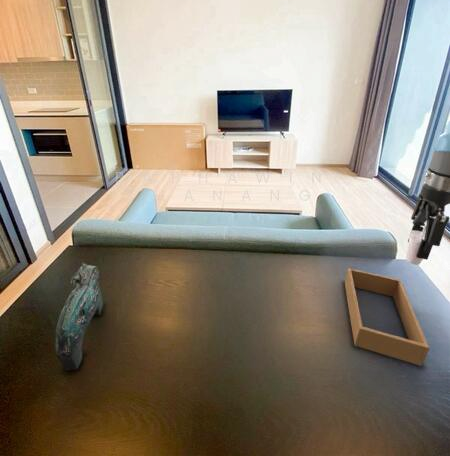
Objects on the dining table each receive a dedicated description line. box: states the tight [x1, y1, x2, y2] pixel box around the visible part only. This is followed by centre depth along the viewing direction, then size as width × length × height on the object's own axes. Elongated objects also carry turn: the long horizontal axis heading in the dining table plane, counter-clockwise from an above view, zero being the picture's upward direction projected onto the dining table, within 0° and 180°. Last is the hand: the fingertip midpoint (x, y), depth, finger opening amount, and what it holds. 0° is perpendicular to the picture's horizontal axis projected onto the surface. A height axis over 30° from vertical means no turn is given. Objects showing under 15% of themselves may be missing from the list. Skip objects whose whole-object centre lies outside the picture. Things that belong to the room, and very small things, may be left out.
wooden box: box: [344, 267, 430, 367], centre depth 73 cm, size 16×22×7 cm
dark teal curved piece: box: [54, 262, 104, 371], centre depth 67 cm, size 20×6×20 cm, turn 5°
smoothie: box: [405, 225, 426, 266], centre depth 78 cm, size 6×6×14 cm
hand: (417, 249), depth 79 cm, fingers closed on smoothie, 6 cm apart
